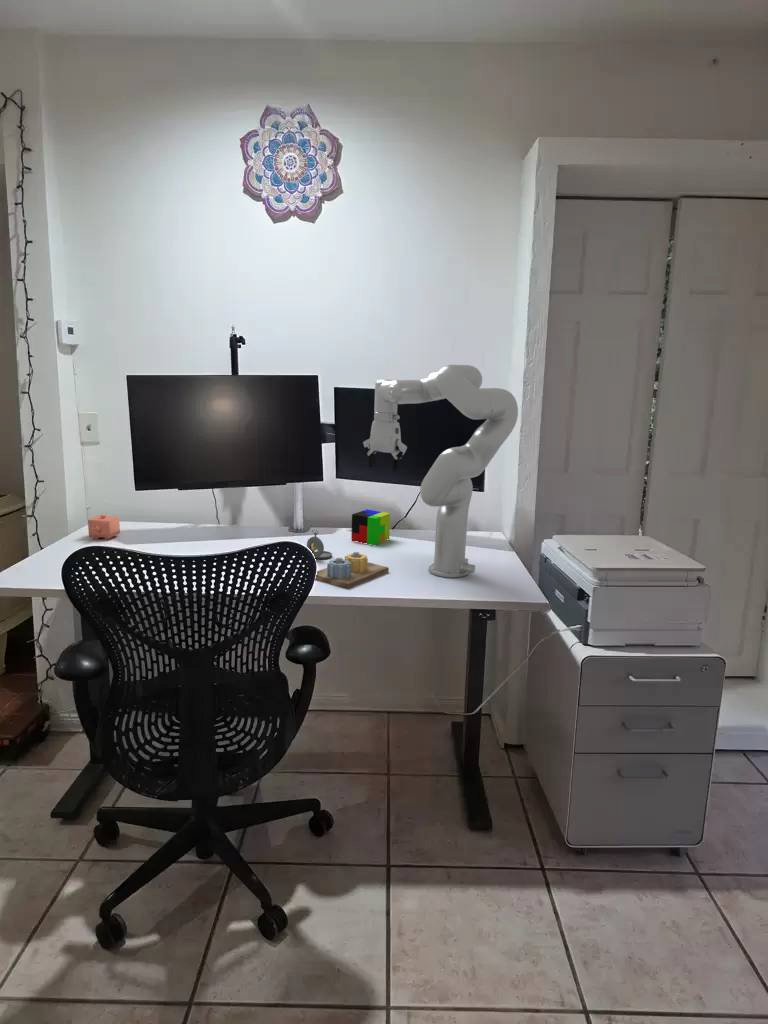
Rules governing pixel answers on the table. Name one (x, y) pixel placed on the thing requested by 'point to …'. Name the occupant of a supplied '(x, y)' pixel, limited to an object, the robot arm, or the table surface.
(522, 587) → the table surface
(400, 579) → the table surface
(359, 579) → the gear board
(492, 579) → the table surface
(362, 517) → the puzzle toy
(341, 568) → the gear
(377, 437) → the robot arm
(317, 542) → the pocket watch
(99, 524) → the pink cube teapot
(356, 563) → the gear
